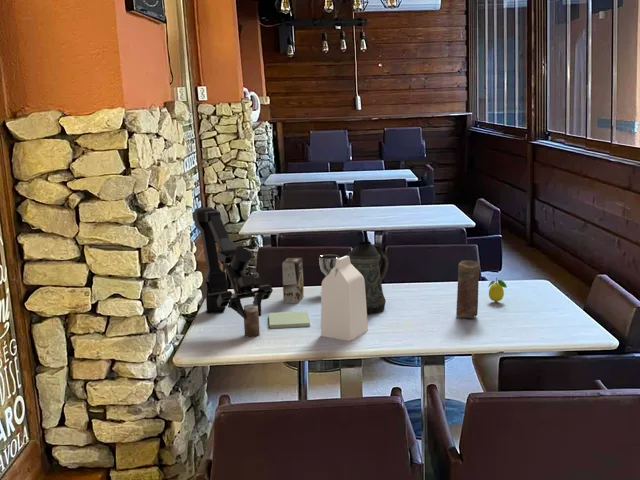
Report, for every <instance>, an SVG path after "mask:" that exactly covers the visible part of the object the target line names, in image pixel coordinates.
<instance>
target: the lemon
mask: <svg viewBox="0 0 640 480" xmlns="http://www.w3.org/2000/svg"><path fill="white" fill-rule="evenodd" d="M495 278H496V279H495V280H491V281H490V282H489V284H488V288H489V289H488V297H489V299H490V300H491V301H493V302H494V303H498V302H499V301H501V300H503V298H504V295H505V291H504V289H505V288H508V287H507V284H506V283H505V281H503V280H502V279H498V277H495Z"/></svg>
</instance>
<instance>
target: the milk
mask: <svg viewBox="0 0 640 480" xmlns="http://www.w3.org/2000/svg"><path fill="white" fill-rule="evenodd" d="M320 295H321V299H320V301H321V302H320V307H321V308H320V337H325V338H326V337H327V338H331V339H338V340H342V341H347V342H352V341H353V340H355V339H357V338H359V337H360V336H361V335H364V334H365V333H366V332H369V325H368V322H369V321H368V315H367V307H366V293H365V280H364V277H363V276H362V274H361V273H360V272H359V271H358V270H357V269H356V268H355V267H354V266H353V265H352V264H351V262H350V257H349V256H347V255H344V256H342V257H339V259H337V261H336V265H335V267H334V268H333V269H332V270H331V272H330V273H329V274H328V275H327V276H326V275H325V277H324V278H323V279H322V281H321V292H320ZM351 340H352V341H351Z"/></svg>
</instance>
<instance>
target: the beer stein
mask: <svg viewBox="0 0 640 480" xmlns="http://www.w3.org/2000/svg"><path fill="white" fill-rule="evenodd" d="M346 256H349V257H350V262H351V264H352V265H353V266H354V267H355V268H356V269H357V270H358V271H359V272H360V273H361V274H362V276H363V277H364V280H365V293H366V307H367V316H368V315H377V314H379V313H382V312H383V311H384V310H385V305H386V297H385V295H384V291H383V285H382V283H383V281H384V279H385V277H386V274H387V272H388V269H389V258H388V256H387V253H386V252H385V251H383V249H382V247H381V246H380V245H377V244H372V242H371V241H359V242H358V244H357V245H356V246H355V247H354V248H353V249H351V251H350V252H348V254H346Z"/></svg>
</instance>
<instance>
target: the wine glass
mask: <svg viewBox="0 0 640 480" xmlns="http://www.w3.org/2000/svg"><path fill="white" fill-rule="evenodd" d="M339 258H340V256H339V255H337V254H322V255H319V257H318V260H319V262H318V263H319V267H320V271H321V273H323V274H324V276H325V277H326V276H327V275H328V274H329V273H330V272H331V270H332V269H333V268H334V267H335V265H336V261H337V259H339Z"/></svg>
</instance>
